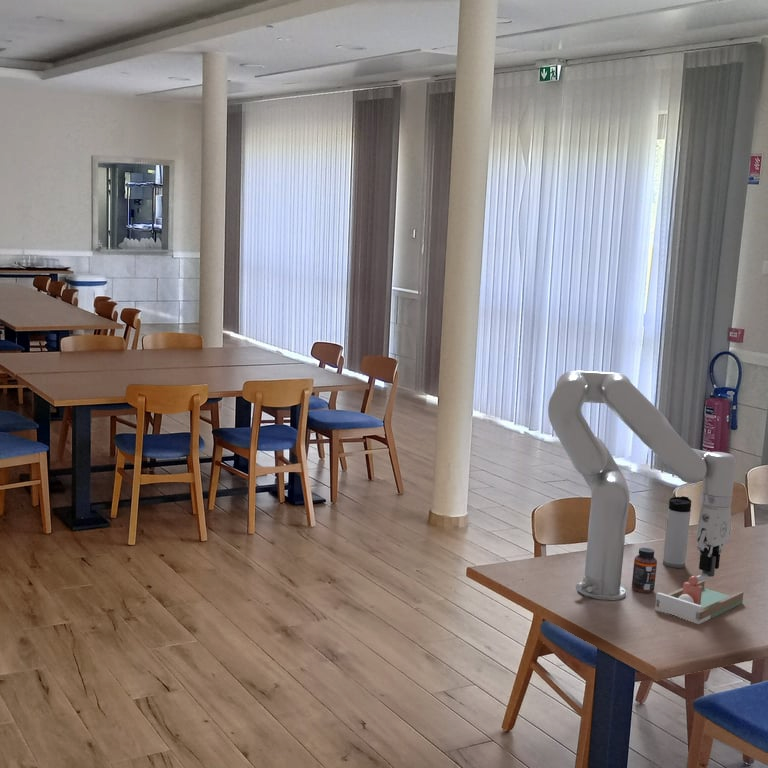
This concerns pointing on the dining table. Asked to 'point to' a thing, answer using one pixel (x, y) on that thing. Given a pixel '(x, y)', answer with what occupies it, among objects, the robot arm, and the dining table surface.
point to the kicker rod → (691, 585)
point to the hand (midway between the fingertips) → (708, 568)
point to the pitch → (708, 608)
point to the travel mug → (677, 532)
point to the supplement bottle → (644, 571)
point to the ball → (686, 598)
